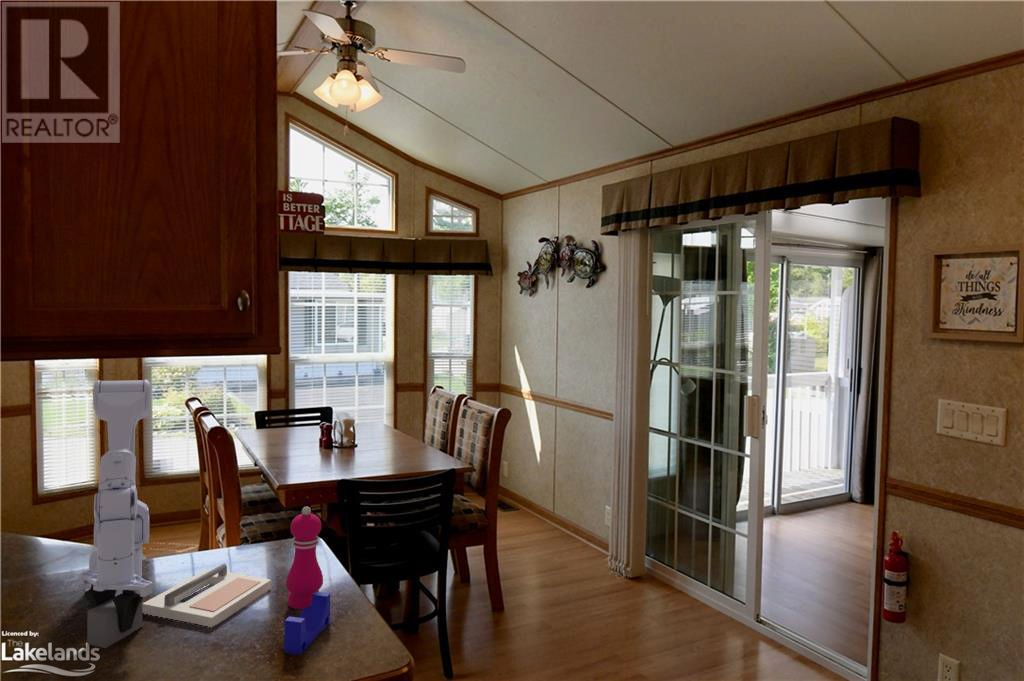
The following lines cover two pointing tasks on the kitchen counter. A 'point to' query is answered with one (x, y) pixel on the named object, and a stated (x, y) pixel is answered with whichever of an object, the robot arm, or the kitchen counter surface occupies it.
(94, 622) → the gray block
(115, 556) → the robot arm
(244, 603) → the cream flat slotted block
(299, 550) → the pepper mill
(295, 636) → the cable clip
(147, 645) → the kitchen counter surface
